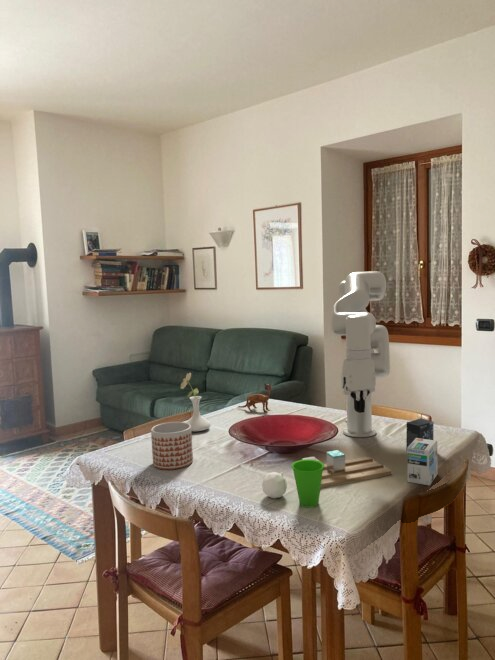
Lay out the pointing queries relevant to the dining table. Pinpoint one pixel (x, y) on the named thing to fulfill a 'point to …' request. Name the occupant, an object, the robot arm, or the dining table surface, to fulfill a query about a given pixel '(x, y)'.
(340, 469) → the block
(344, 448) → the dining table surface
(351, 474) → the gauge board
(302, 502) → the cup
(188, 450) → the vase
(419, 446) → the light bulb box
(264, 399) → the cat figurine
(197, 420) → the flower in vase
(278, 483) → the ornament
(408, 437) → the box
